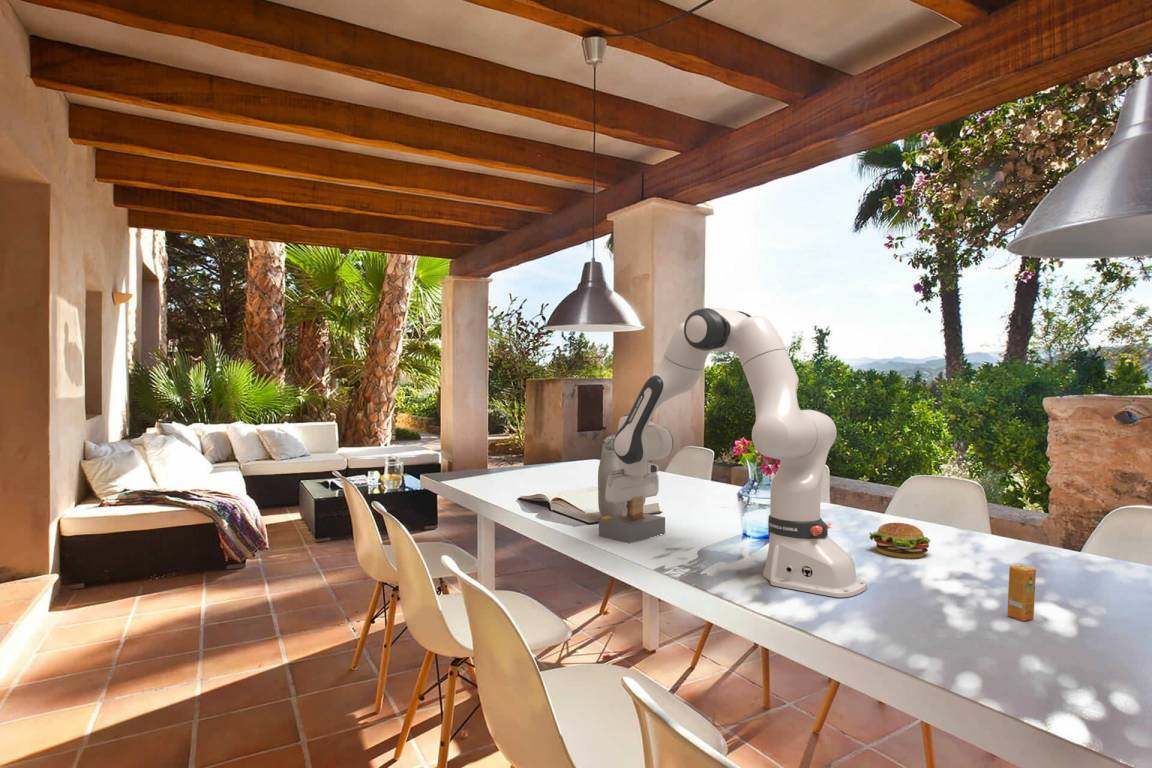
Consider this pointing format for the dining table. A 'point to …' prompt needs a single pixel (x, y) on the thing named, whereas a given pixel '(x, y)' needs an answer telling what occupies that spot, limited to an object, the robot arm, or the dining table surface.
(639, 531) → the socket block
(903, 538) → the food
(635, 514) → the oak peg
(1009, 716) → the dining table surface
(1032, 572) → the supplement box
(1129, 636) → the dining table surface
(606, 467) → the gray bottle
